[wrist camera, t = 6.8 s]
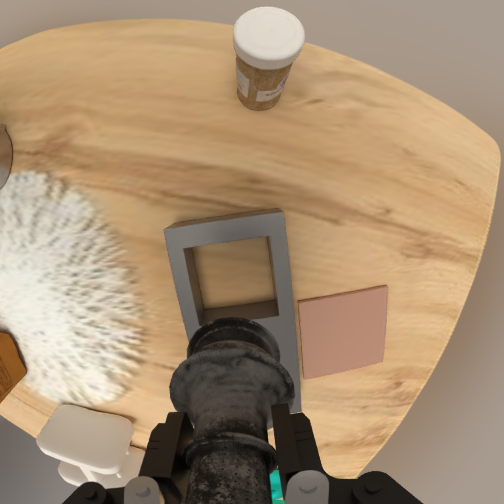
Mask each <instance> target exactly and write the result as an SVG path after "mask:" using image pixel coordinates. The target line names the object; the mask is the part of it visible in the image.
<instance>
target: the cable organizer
mask: <svg viewBox="0 0 504 504" xmlns="http://www.w3.org/2000/svg"><path fill="white" fill-rule="evenodd" d="M133 433H134V428H133V425H132V423H131V421H130V420H128V419H127V418H124V417H122V416H120V415H115V414H109V413H101V412H96V411H92V410H88V409H87V408H84V407H80V406H76V405H61V406H59V407H57V409H56V410H55V411H54V413H53V414H52V416H51V417H50V419H49V420H48V422H47V423H46V425H45V426H44V427H43V429H42V430H41V432H40V433H39V435H38V436H37V439H36V442H37V444H38V446H39V447H40V449H41V450H42V452H44V453H45V454H47V455H49V456H52V457H54V458H57V459H59V460H62V461H61V463H60V465H59V467H58V472H59V474H60V475H61V476H62V478H64V480H66V481H67V482H68V483H71V484H73V485H76V486H80V485H82V484H83V483H85V482H90V481H94V482H98V483H100V484H101V485H102V486H103V487H104V488H105V489H108V488H118V487H124V486H126V484H127V483H128V482H129V481H130V480H131V479H133V478H135V477H138V474H139V471H140V468H141V464H142V461H143V458H144V455H145V451H144V450H142V449H139V448H136V447H133V446H130V445H129V444H130V441H131V439H132V436H133Z"/></svg>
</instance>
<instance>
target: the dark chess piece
mask: <svg viewBox="0 0 504 504" xmlns="http://www.w3.org/2000/svg"><path fill="white" fill-rule="evenodd" d="M280 357H281V356H280V350H279V345H278V343H277V341H276V339H275V337H274V336H273V335H272V334H271V333H270V332H269V331H268V330H267V329H266V328H265V327H263V326H262V325H260V324H258V323H257V322H255V321H251V320H248V319H245V318H238V317H226V318H220V319H216V320H213V321H211V322H208V323H206V324H205V325H203V326H202V327H201V328H199V329H198V330H197V331H196V332H195V334H194V335H193V336H192V338H191V339H190V342H189V345H188V348H187V359H186V360H185V361H183V362H182V363H181V364H180V365H179V366H178V368H177V369H176V370H175V372H174V373H173V375H172V379H171V382H170V386H169V389H170V399H171V401H172V403H173V405H174V408H175V409H176V411H177V412H187V413H188V416H189V418H190V421H191V423H192V426H194V433H193V439H192V440H190V441H189V442H188V443H187V444H186V445H185V446H184V448H183V451H182V454H181V456H182V460H183V462H184V464H185V465H186V467H187V469H189V470H190V472H189V479H188V485H187V493H186V500H185V504H273V502H272V492H271V482H270V474H271V473H273V471H274V470H275V469H276V468H277V466H278V461H277V453H276V450H275V449H274V448H273V446H271V445H270V444H269V442H268V433H267V430H269V429H270V428H272V427H273V421H272V413H271V405H276V404H283V403H288V405H289V410H291V408H292V407H293V403H294V398H295V389H294V382H293V380H292V378H291V376H290V374H289V373H288V371H287V370H286V369H285V368H284V367H283V366H282V365H281V364H280Z"/></svg>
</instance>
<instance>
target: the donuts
mask: <svg viewBox="0 0 504 504" xmlns="http://www.w3.org/2000/svg"><path fill="white" fill-rule="evenodd" d="M270 482H271V492H272V502H273V504H284V503H285V501H283V500H275V499H279V498H282V497H283V495H282V489H281V483H280V476H279V470H274V471H273V473H271V474H270Z"/></svg>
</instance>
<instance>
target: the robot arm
mask: <svg viewBox="0 0 504 504" xmlns="http://www.w3.org/2000/svg"><path fill="white" fill-rule="evenodd" d="M11 163H12V145H11V141H10V138H9V136H8V134H7V133H6V130H5V125H3V124H0V189H1V188H2V187H3V185H4V184H5V182H6V180H7V178H8V175H9V172H10V169H11ZM271 413H272V421H273V429H274V437H275V445H276V453H277V461H278V469H279V476H280V483H281V489H282V495H283V501H285V503H284V504H423V503H421V502H420V501H419V500H418V499H417V498H415V497H414V496H413V495H412V494H411V493H409V492H408V491H407V490H406V489H404V488H403V487H402V486H401V485H400V484H398V483H397V482H396V481H395V480H394V479H393V478H391V477H390V476H389V475H388V474H386V473H384V472H380V471H371V472H368V473H365V474H363V475H361V476H360V477H358V479H338V478H334V477H332V476H330V475H328V474H327V473H326V472H325V471H324V469H323V467H322V464H321V460H320V457H319V453H318V449H317V445H316V442H315V439H314V434H313V431H312V427H311V423H310V420H309V419H308V418H307V417H306V416H305V415H304V414H303V412H301V413H295V414H290V410H289V405H288V403H283V404H276V405H271ZM193 433H194V428H193V426H192V423H191V421H190V418H189V416H188V413H187V412H169V413H168V415H167V419H166V422H165V423H159V424H158V425H157V426H156V427H155V428H154V429H153V430H152V432H151V435H150V438H149V442H148V445H147V449H146V451H145V455H144V458H143V461H142V464H141V468H140V471H139V474H138V477H135V478H133V479H131V480H130V481H129V482H128V483H127V484H126V486H124V487H118V488H108V489H105V488H104V487H103V486H102V485H101V484H100V483H98V482H94V481H90V482H85V483H83V484H82V485H80V486H79V487H78V488H77V489H76V490H75V491H74V492H73V493H72V495H71V496H69V497H68V498H67V499H66V500H65V501H64V502H63V504H185V500H186V493H187V485H188V479H189V472H190V470H189V469H187V467H186V465H185V464H184V462H183V460H182V456H181V454H182V451H183V448H184V446H185V445H186V444H187V443H188V442H189V441H190V440H192V439H193Z"/></svg>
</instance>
